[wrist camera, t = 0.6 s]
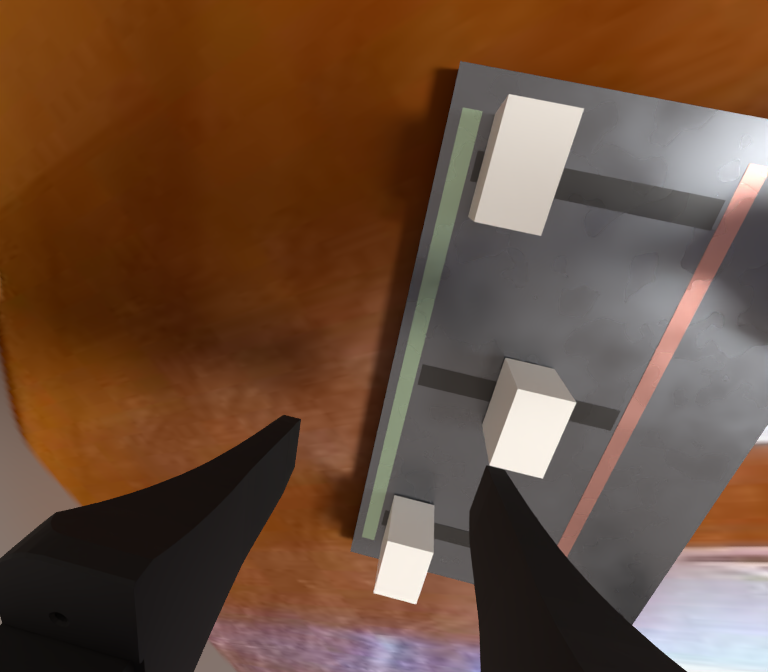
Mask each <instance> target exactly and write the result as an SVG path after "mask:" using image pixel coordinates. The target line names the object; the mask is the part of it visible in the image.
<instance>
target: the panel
mask: <svg viewBox="0 0 768 672" xmlns="http://www.w3.org/2000/svg"><path fill="white" fill-rule="evenodd" d="M509 94H511V95H517V96H522V97H527V98H532V99H537V100H543V101H548V102H553V103H558V104H563V105H569V106H574V107H579V108H584V111H583V113H582V116H581V119H580V122H579V125H578V128H577V131H576V134H575V137H574V140H573V143H572V146H571V149H570V152H569V155H568V158H567V161H566V164H565V167H564V170H563V172H562V175H561V178H560V181H559V184H558V187H557V190H556V193H555V196H554V199H553V202H552V205H551V208H550V211H549V214H548V217H547V220H546V223H545V226H544V229H543V232H542V234H541V236H539V235H534V234H529V233H525V232H520V231H515V230H511V229H506V228H501V227H496V226H492V225H487V224H482V223H478V222H474V221H473V220H471V219H470V218H469V217H468V215H469V211H470V207H471V203H472V200H473V196H474V192H475V188H476V185H477V181H478V177H479V173H480V169H481V166H482V162H483V158H484V154H485V150H486V147H487V143H488V139H489V135H490V132H491V128H492V124H493V120H494V116H495V113H496V112H497V110H498V109H499V107H500V106H501V104H502V103H503V102H504V100H505V99H506V97H507V96H508V95H509ZM505 358H509V359H513V360H518V361H522V362H526V363H531V364H535V365H539V366H544V367H548V368H552V369H555V371H556V372H557V374H558V375H559V377H560V378H561V380H562V381H563V383H564V384H565V386H566V387H567V389H568V391H569V392H570V394H571V395H572V397H573V398H574V400H575V401H576V405H575V407H574V409H573V411H572V414H571V416H570V418H569V420H568V423H567V425H566V427H565V429H564V432H563V434H562V436H561V438H560V441H559V443H558V445H557V447H556V450H555V452H554V454H553V456H552V459H551V461H550V463H549V466H548V468H547V470H546V472H545V475H544V477H543V479H542V478H538V477H534V476H530V475H526V474H522V473H518V472H514V471H510V470H506V469H504V470H505V471H506V473H507V474H508V476H509V477H510V479H511V480H512V482H513V483H514V485H515V486H516V488H517V489H518V491H519V492H520V494H521V496H522V497H523V499H524V500H525V502H526V503H527V505H528V506H529V508H530V509H531V510H532V512H533V513H534V515H535V516H536V518H537V519H538V521H539V522H540V523H541V525H542V526H543V527H544V529H545V530H546V532H547V533H548V534H549V535H550V537H551V538H552V539H553V541H554V542H555V543H556V544H557V546H558V547H559V548H560V550H561V551H562V552H563V553H564V555H565V556H566V557H567V558H568V559H569V561H570V562H571V563H572V564H573V565H574V566H575V567H576V569H577V570H578V571H579V572H580V573H581V574H582V575H583V576H584V578H585V579H586V580H587V581H588V582H589V583H590V584H591V585H592V586H593V587H594V588H595V589H596V590H597V592H598V593H599V594H600V595H601V596H602V597H603V598H604V599H605V600H606V601H607V602H608V603H609V604H610V605H611V606H612V607H613V608H614V609H615V610H616V611H617V612H619V613H620V614H621V615H622V616H623V617H624V618H625V619H626V620H627V621H628V622H629V623H630V624H631V625H632V624H633V623H634V621H635V620H636V618H637V617H638V615H639V614H640V612H641V611H642V609H643V608H644V607H645V605H646V604H647V602H648V601H649V599H650V598H651V596H652V595H653V593H654V592H655V590H656V589H657V587H658V586H659V584H660V583H661V581H662V580H663V578H664V577H665V575H666V574H667V573H668V571H669V570H670V568H671V567H672V565H673V564H674V562H675V561H676V559H677V558H678V556H679V555H680V553H681V552H682V550H683V549H684V547H685V546H686V544H687V543H688V542H689V540H690V539H691V537H692V536H693V534H694V533H695V531H696V530H697V528H698V527H699V525H700V524H701V522H702V521H703V519H704V518H705V516H706V515H707V513H708V512H709V511H710V509H711V508H712V506H713V505H714V503H715V502H716V500H717V499H718V497H719V496H720V494H721V493H722V491H723V490H724V488H725V487H726V485H727V484H728V482H729V481H730V480H731V478H732V477H733V475H734V474H735V472H736V471H737V469H738V468H739V466H740V465H741V463H742V462H743V460H744V459H745V457H746V456H747V454H748V453H749V451H750V450H751V449H752V447H753V446H754V444H755V443H756V441H757V440H758V438H759V437H760V435H761V434H762V432H763V431H764V429H765V428H766V426H767V425H768V119H764V118H759V117H753V116H748V115H743V114H737V113H732V112H727V111H722V110H716V109H711V108H706V107H700V106H695V105H690V104H684V103H679V102H674V101H668V100H663V99H658V98H653V97H647V96H642V95H637V94H631V93H626V92H621V91H615V90H610V89H605V88H600V87H594V86H589V85H584V84H578V83H573V82H568V81H562V80H557V79H552V78H547V77H541V76H536V75H531V74H525V73H520V72H515V71H509V70H504V69H499V68H494V67H488V66H483V65H478V64H472V63H467V62H462V61H460V66H459V70H458V75H457V79H456V84H455V88H454V93H453V97H452V102H451V106H450V110H449V115H448V119H447V124H446V128H445V133H444V137H443V142H442V146H441V150H440V155H439V159H438V164H437V168H436V173H435V177H434V182H433V186H432V191H431V195H430V199H429V204H428V208H427V213H426V217H425V222H424V226H423V231H422V235H421V240H420V244H419V248H418V253H417V257H416V262H415V266H414V271H413V275H412V280H411V284H410V289H409V293H408V297H407V302H406V306H405V311H404V315H403V320H402V324H401V329H400V333H399V338H398V342H397V346H396V351H395V355H394V360H393V364H392V369H391V373H390V378H389V382H388V386H387V391H386V395H385V400H384V404H383V409H382V413H381V418H380V422H379V427H378V431H377V435H376V440H375V444H374V449H373V453H372V458H371V462H370V467H369V471H368V476H367V480H366V484H365V489H364V493H363V498H362V502H361V507H360V511H359V516H358V520H357V525H356V529H355V533H354V538H353V542H352V547H351V552H355V553H359V554H362V555H366V556H370V557H374V558H377V559H379V556H380V550H381V544H382V540H383V536H384V533H385V529H386V525H387V521H388V517H389V514H390V510H391V506H392V502H393V499H394V495H396V496H400V497H404V498H408V499H412V500H416V501H420V502H424V503H428V504H431V505H434V553H433V556H432V559H431V562H430V565H429V568H428V571H427V572H430V573H434V574H437V575H441V576H445V577H449V578H452V579H456V580H460V581H464V582H467V583H471V584H474V577H473V569H472V561H471V553H470V544H469V511H470V508H471V505H472V503H473V500H474V497H475V494H476V492H477V489H478V486H479V484H480V481H481V478H482V475H483V473H484V470H485V467H486V465H488V466H490V465H489V460H488V455H487V450H486V444H485V439H484V433H483V428H482V424H483V421H484V418H485V415H486V412H487V409H488V407H489V404H490V401H491V398H492V395H493V392H494V389H495V386H496V383H497V380H498V378H499V375H500V372H501V369H502V366H503V363H504V360H505ZM492 467H494V466H492ZM496 468H498V467H496ZM500 469H502V468H500Z"/></svg>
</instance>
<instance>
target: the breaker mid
mask: <svg viewBox="0 0 768 672" xmlns="http://www.w3.org/2000/svg"><path fill="white" fill-rule="evenodd" d="M575 405H576V401H575V400H574V398H573V397H572V395H571V394H570V392H569V391H568V389H567V387H566V386H565V384H564V383H563V381H562V380H561V378H560V377H559V375H558V374H557V372H556V371H555V369H552V368H548V367H544V366H539V365H535V364H531V363H526V362H522V361H518V360H513V359H509V358H505V360H504V363H503V366H502V369H501V372H500V375H499V378H498V380H497V383H496V386H495V389H494V392H493V395H492V398H491V401H490V404H489V407H488V409H487V412H486V415H485V418H484V421H483V424H482V428H483V433H484V439H485V444H486V450H487V455H488V460H489V465H490V466H494V467H498V468H502V469H506V470H510V471H514V472H518V473H522V474H526V475H530V476H534V477H538V478H542V479H543V477H544V475H545V472H546V470H547V468H548V466H549V463H550V461H551V459H552V456H553V454H554V452H555V450H556V447H557V445H558V443H559V441H560V438H561V436H562V434H563V432H564V429H565V427H566V425H567V423H568V420H569V418H570V416H571V414H572V411H573V409H574V407H575Z"/></svg>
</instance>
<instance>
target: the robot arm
mask: <svg viewBox="0 0 768 672" xmlns="http://www.w3.org/2000/svg"><path fill="white" fill-rule="evenodd" d="M300 422H301V419H298V418H294V417H290V416H286V415H283V416H281V417H280V418H278V419H277V420H275V421H274V422H272V423H271V424H269V425H268V426H266V427H265V428H263V429H262V430H260V431H259V432H257V433H256V434H255V435H253V436H251V437H250V438H248V439H247V440H245V441H244V442H242V443H240V444H239V445H237V446H236V447H234V448H232V449H230V450H229V451H227V452H225V453H223V454H222V455H220V456H218V457H216V458H215V459H213V460H211V461H209V462H207V463H205V464H203V465H201V466H199V467H197V468H195V469H193V470H190V471H188V472H186V473H184V474H182V475H179V476H177V477H174V478H171V479H169V480H166V481H164V482H161V483H159V484H156V485H153V486H151V487H148V488H145V489H142V490H139V491H136V492H133V493H130V494H127V495H123V496H120V497H117V498H113V499H110V500H106V501H102V502H99V503H94V504H90V505H86V506H82V507H78V508H74V509H69V510H65V511H61V512H56V513H55V514H53V515H52V516H51V517H49V518H48V519H47V520H46V521H44V522H43V523H42V524H40V525H39V526H38V527H37V528H36V529H34V530H33V531H32V532H31V533H30V534H28V535H27V536H26V537H25V538H24V539H23V540H21V541H20V542H19V543H18V544H17V545H15V546H14V547H13V548H12V549H11V550H10V551H8V552H7V553H6V554H5V555H4V556H3V557H1V558H0V617H1V620H2V624H1V625H0V672H194V670H195V668H196V665H197V663H198V661H199V658H200V656H201V654H202V652H203V649H204V647H205V645H206V642H207V640H208V638H209V635H210V633H211V631H212V629H213V626H214V624H215V622H216V620H217V618H218V615H219V613H220V611H221V609H222V607H223V604H224V602H225V600H226V598H227V596H228V593H229V591H230V589H231V587H232V585H233V583H234V581H235V578H236V576H237V574H238V572H239V570H240V568H241V566H242V564H243V562H244V560H245V558H246V556H247V554H248V553H249V551H250V549H251V547H252V546H253V544H254V542H255V541H256V539H257V537H258V536H259V534H260V532H261V530H262V529H263V527H264V525H265V524H266V522H267V520H268V518H269V517H270V515H271V513H272V512H273V510H274V508H275V506H276V505H277V503H278V501H279V499H280V498H281V496H282V494H283V492H284V490H285V488H286V485H287V483H288V481H289V479H290V476H291V474H292V471H293V469H294V467H295V460H296V452H297V445H298V437H299V430H300ZM469 544H470V553H471V561H472V569H473V577H474V586H475V594H476V602H477V610H478V619H479V631H480V662H481V672H687V671H685V670H684V669H683V668H682V667H680V666H679V665H678V664H677V663H675V662H674V661H673V660H672V659H670V658H669V657H668V656H667V655H665V654H664V653H663V652H662V651H661V650H659V649H658V648H657V647H656V646H655V645H654V644H653V643H652V642H650V641H649V640H648V639H647V638H646V637H645V636H644V635H642V634H641V633H640V632H639V631H638V630H637V629H636V628H635V627H633V626H632V625H631V624H630V623H629V622H628V621H627V620H626V619H625V618H624V617H623V616H622V615H621V614H620V613H619V612H617V611H616V610H615V609H614V608H613V607H612V606H611V605H610V604H609V603H608V602H607V601H606V600H605V599H604V598H603V597H602V596H601V595H600V594H599V593H598V592H597V590H596V589H595V588H594V587H593V586H592V585H591V584H590V583H589V582H588V581H587V580H586V579H585V578H584V576H583V575H582V574H581V573H580V572H579V571H578V570H577V569H576V567H575V566H574V565H573V564H572V563H571V562H570V561H569V559H568V558H567V557H566V556H565V555H564V553H563V552H562V551H561V550H560V548H559V547H558V546H557V544H556V543H555V542H554V541H553V539H552V538H551V537H550V535H549V534H548V533H547V532H546V530H545V529H544V527H543V526H542V525H541V523H540V522H539V521H538V519H537V518H536V516H535V515H534V513H533V512H532V510H531V509H530V508H529V506H528V505H527V503H526V502H525V500H524V499H523V497H522V496H521V494H520V492H519V491H518V489H517V488H516V486H515V485H514V483H513V482H512V480H511V479H510V477H509V476H508V474H507V473H506V471H505V470H504V469H500V468H496V467H492V466H488V465H486V467H485V470H484V473H483V475H482V478H481V481H480V484H479V486H478V489H477V492H476V494H475V497H474V500H473V503H472V505H471V508H470V511H469Z"/></svg>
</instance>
